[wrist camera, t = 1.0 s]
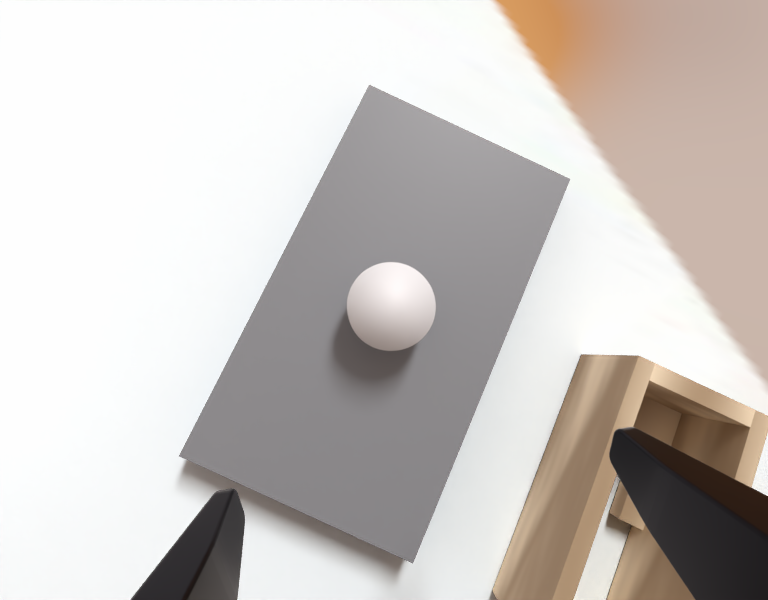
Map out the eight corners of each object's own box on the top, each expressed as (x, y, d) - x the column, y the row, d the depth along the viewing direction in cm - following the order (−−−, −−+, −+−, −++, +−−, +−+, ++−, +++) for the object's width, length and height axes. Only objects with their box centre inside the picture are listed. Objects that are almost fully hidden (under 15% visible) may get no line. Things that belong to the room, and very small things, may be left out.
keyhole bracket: (687, 403, 22) (771, 417, 17) (608, 643, 20) (679, 727, 16) (581, 354, 22) (638, 355, 17) (492, 590, 20) (530, 659, 16)
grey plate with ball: (556, 190, 23) (594, 159, 19) (408, 547, 20) (420, 591, 16) (368, 101, 23) (370, 54, 19) (192, 448, 20) (154, 470, 16)
